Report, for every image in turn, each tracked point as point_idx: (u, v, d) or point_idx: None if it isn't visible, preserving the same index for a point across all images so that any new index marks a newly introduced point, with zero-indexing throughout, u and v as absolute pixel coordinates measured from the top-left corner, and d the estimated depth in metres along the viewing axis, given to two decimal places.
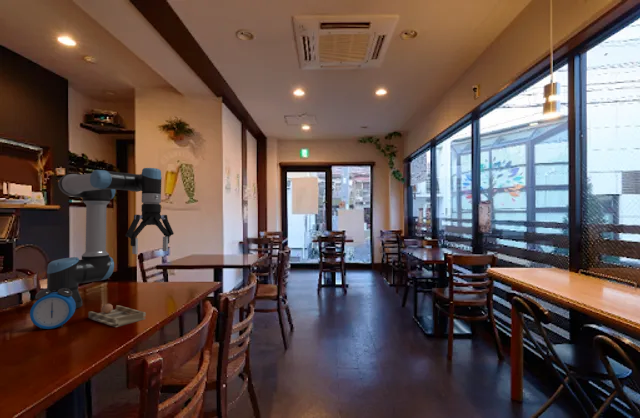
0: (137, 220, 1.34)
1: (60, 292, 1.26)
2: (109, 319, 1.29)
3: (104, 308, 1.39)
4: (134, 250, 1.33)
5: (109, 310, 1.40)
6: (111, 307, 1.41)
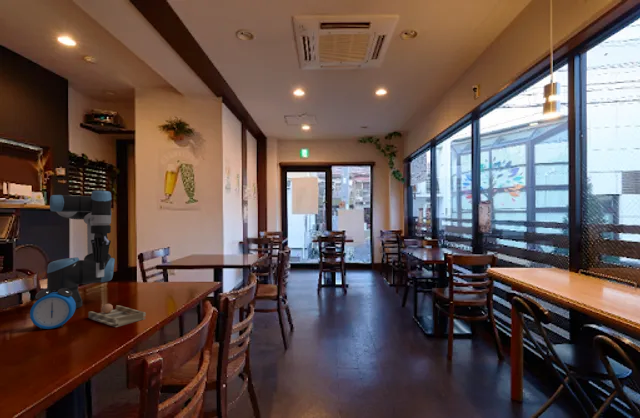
0: (92, 244, 1.47)
1: (60, 292, 1.26)
2: (109, 319, 1.29)
3: (104, 308, 1.39)
4: None
5: (109, 310, 1.40)
6: (111, 307, 1.41)
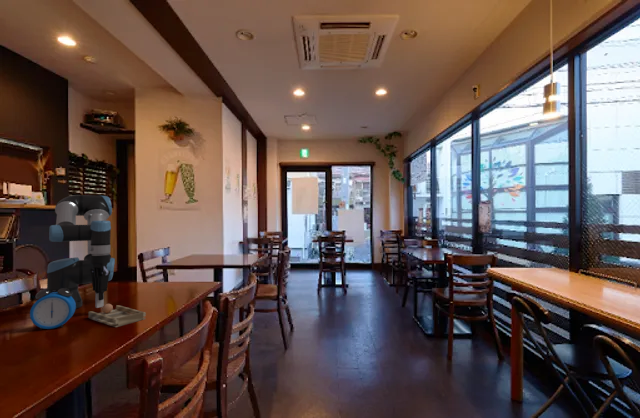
0: (91, 274, 1.46)
1: (60, 292, 1.26)
2: (109, 319, 1.29)
3: (104, 308, 1.39)
4: None
5: (109, 310, 1.40)
6: (111, 307, 1.41)
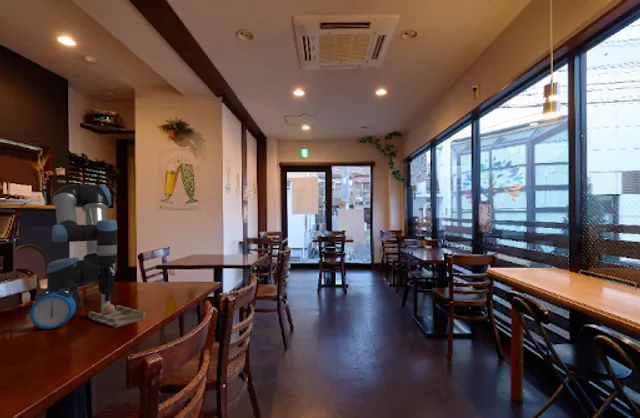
0: (97, 275, 1.43)
1: (60, 292, 1.26)
2: (109, 319, 1.29)
3: (106, 311, 1.38)
4: None
5: (110, 313, 1.40)
6: (113, 311, 1.40)
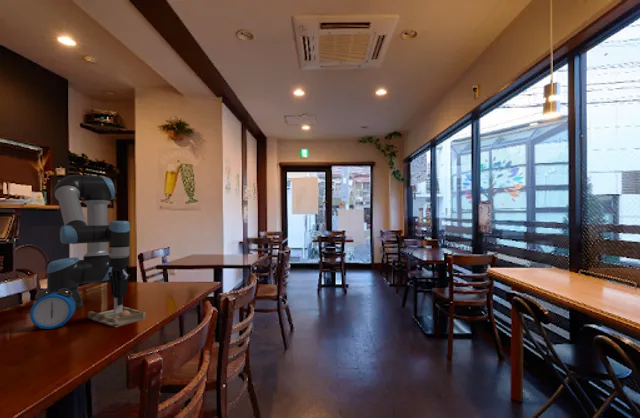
0: (109, 277, 1.38)
1: (60, 292, 1.26)
2: (109, 319, 1.29)
3: None
4: None
5: None
6: None
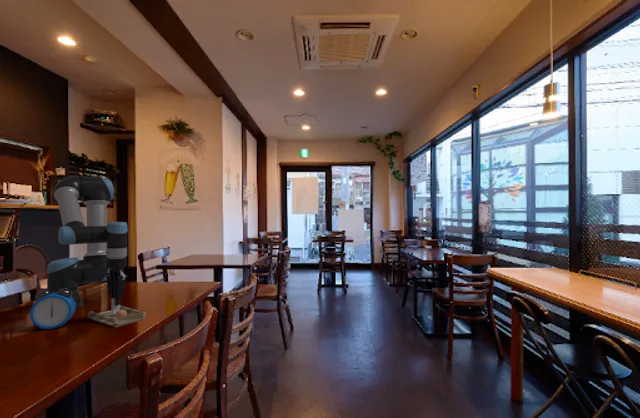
0: (107, 278, 1.39)
1: (60, 292, 1.26)
2: (109, 319, 1.29)
3: (118, 314, 1.33)
4: None
5: (123, 315, 1.34)
6: (125, 312, 1.35)
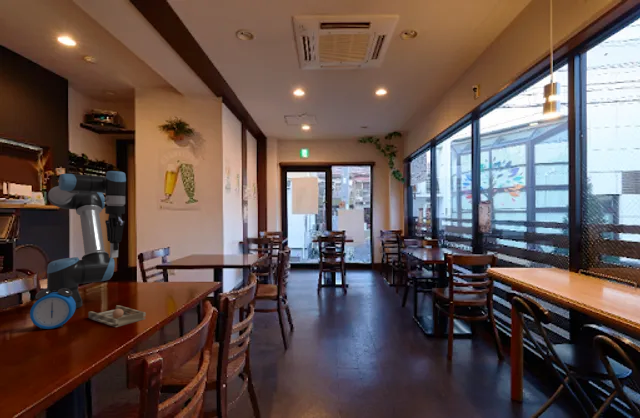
0: (106, 225, 1.47)
1: (60, 292, 1.26)
2: (109, 319, 1.29)
3: (113, 312, 1.35)
4: None
5: (119, 309, 1.36)
6: (119, 309, 1.37)
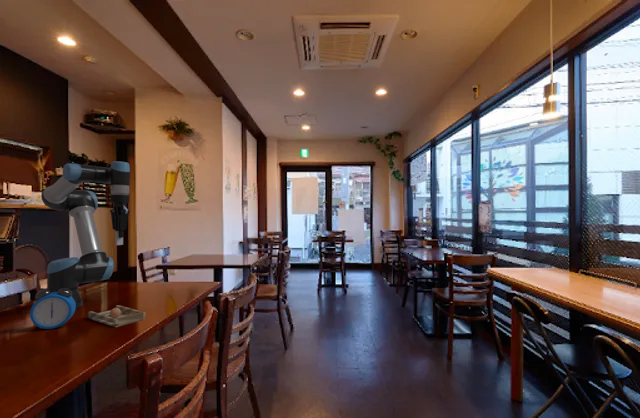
0: (111, 214, 1.52)
1: (60, 292, 1.26)
2: (109, 319, 1.29)
3: None
4: None
5: None
6: None
